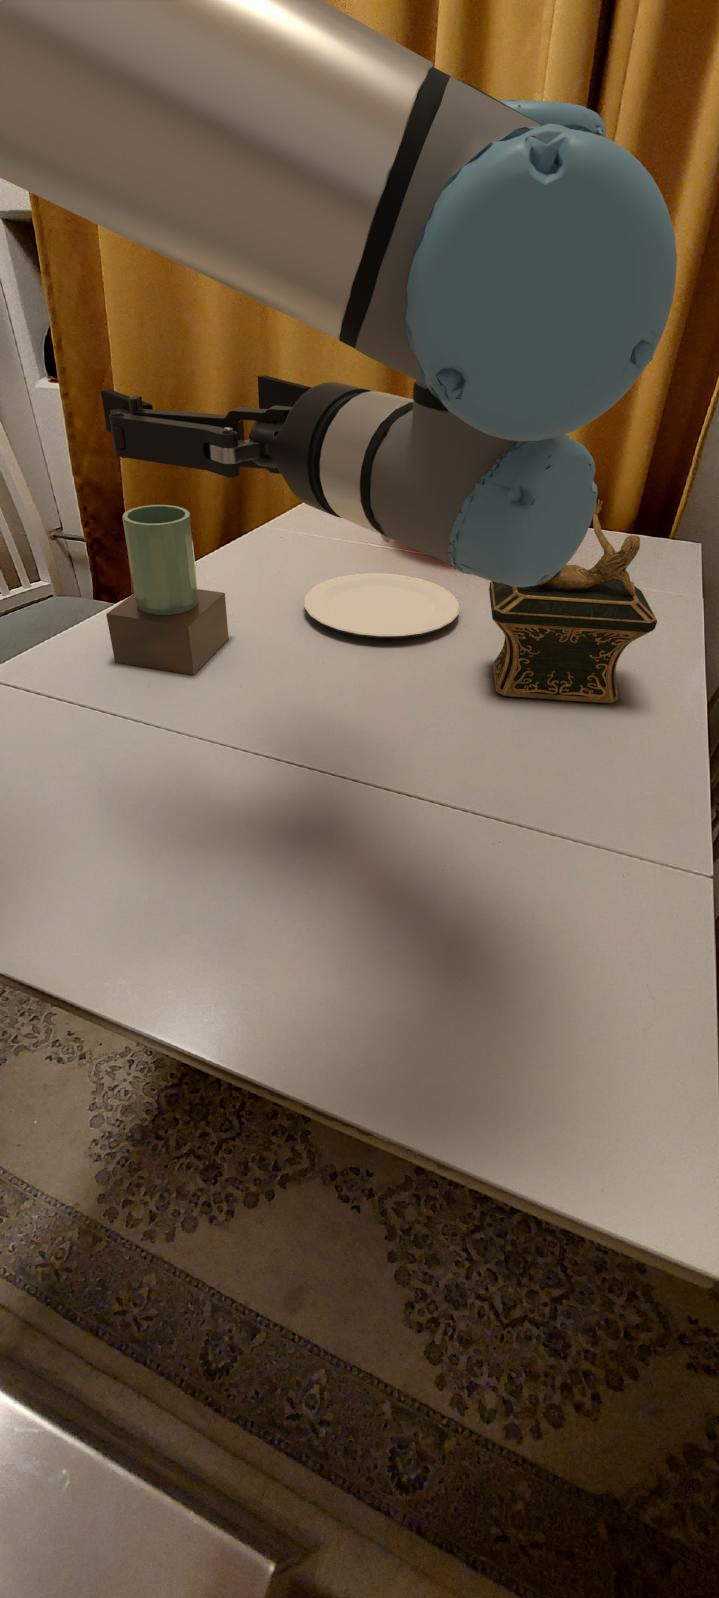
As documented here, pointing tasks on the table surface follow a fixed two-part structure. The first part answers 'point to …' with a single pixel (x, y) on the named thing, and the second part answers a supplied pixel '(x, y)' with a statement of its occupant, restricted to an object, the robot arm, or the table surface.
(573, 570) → the decorative box
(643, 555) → the table surface
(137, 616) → the block
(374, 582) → the plate
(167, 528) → the cup
